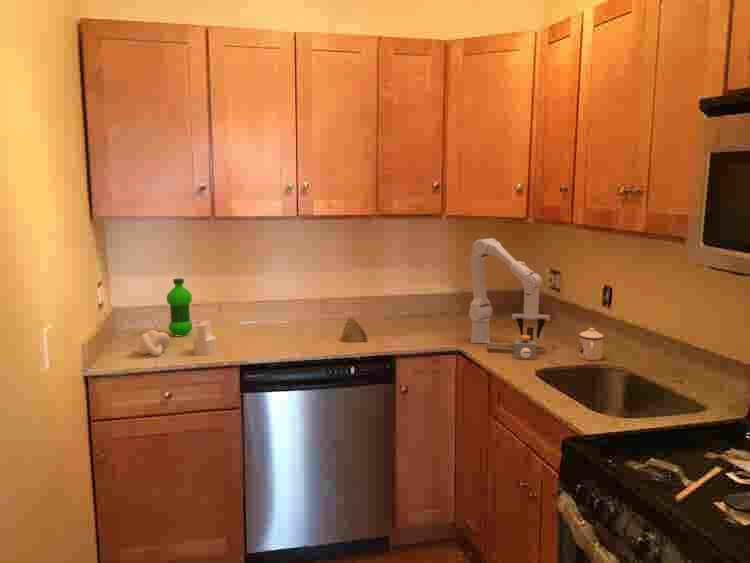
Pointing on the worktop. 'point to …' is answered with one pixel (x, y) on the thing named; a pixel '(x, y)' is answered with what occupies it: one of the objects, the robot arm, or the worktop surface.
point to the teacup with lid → (591, 345)
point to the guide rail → (506, 345)
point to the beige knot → (153, 343)
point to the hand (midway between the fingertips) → (529, 337)
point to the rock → (353, 332)
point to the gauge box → (525, 349)
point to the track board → (510, 349)
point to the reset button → (525, 338)
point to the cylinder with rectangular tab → (205, 340)
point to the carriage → (531, 335)
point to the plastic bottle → (179, 308)
